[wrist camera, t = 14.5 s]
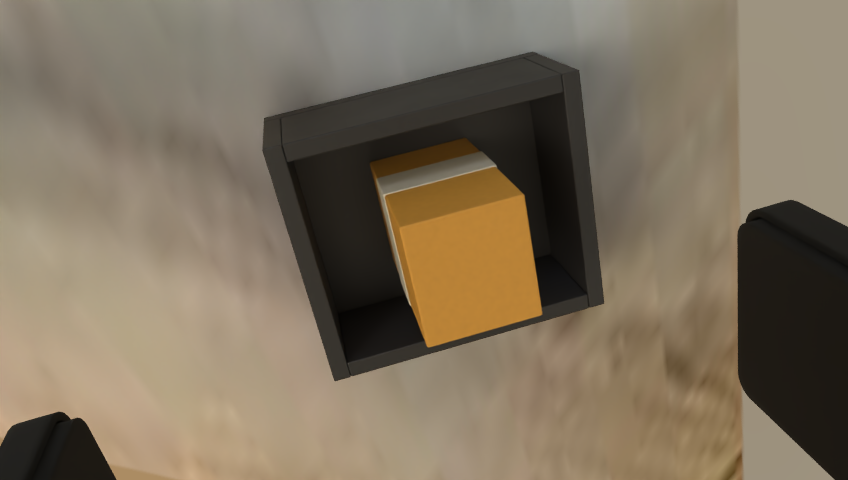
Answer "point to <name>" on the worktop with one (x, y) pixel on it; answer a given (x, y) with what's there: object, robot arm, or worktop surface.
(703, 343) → the worktop surface
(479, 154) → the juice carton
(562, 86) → the basket
